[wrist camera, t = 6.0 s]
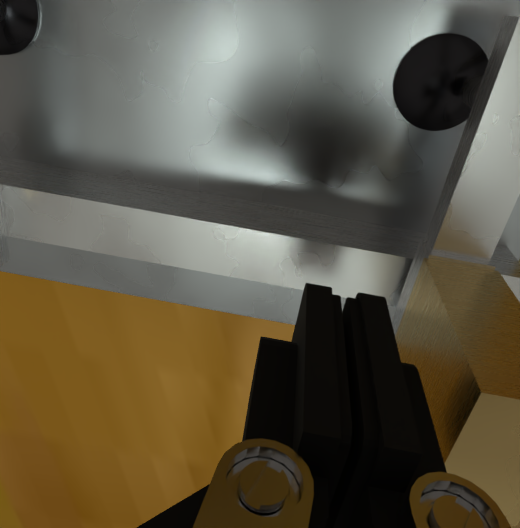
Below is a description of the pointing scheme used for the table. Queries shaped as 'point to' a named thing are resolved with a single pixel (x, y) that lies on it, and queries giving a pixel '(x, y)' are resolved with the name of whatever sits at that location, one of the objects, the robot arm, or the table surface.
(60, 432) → the table surface
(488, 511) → the robot arm
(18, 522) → the table surface
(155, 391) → the table surface
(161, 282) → the bolt plate
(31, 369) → the table surface
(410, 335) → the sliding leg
